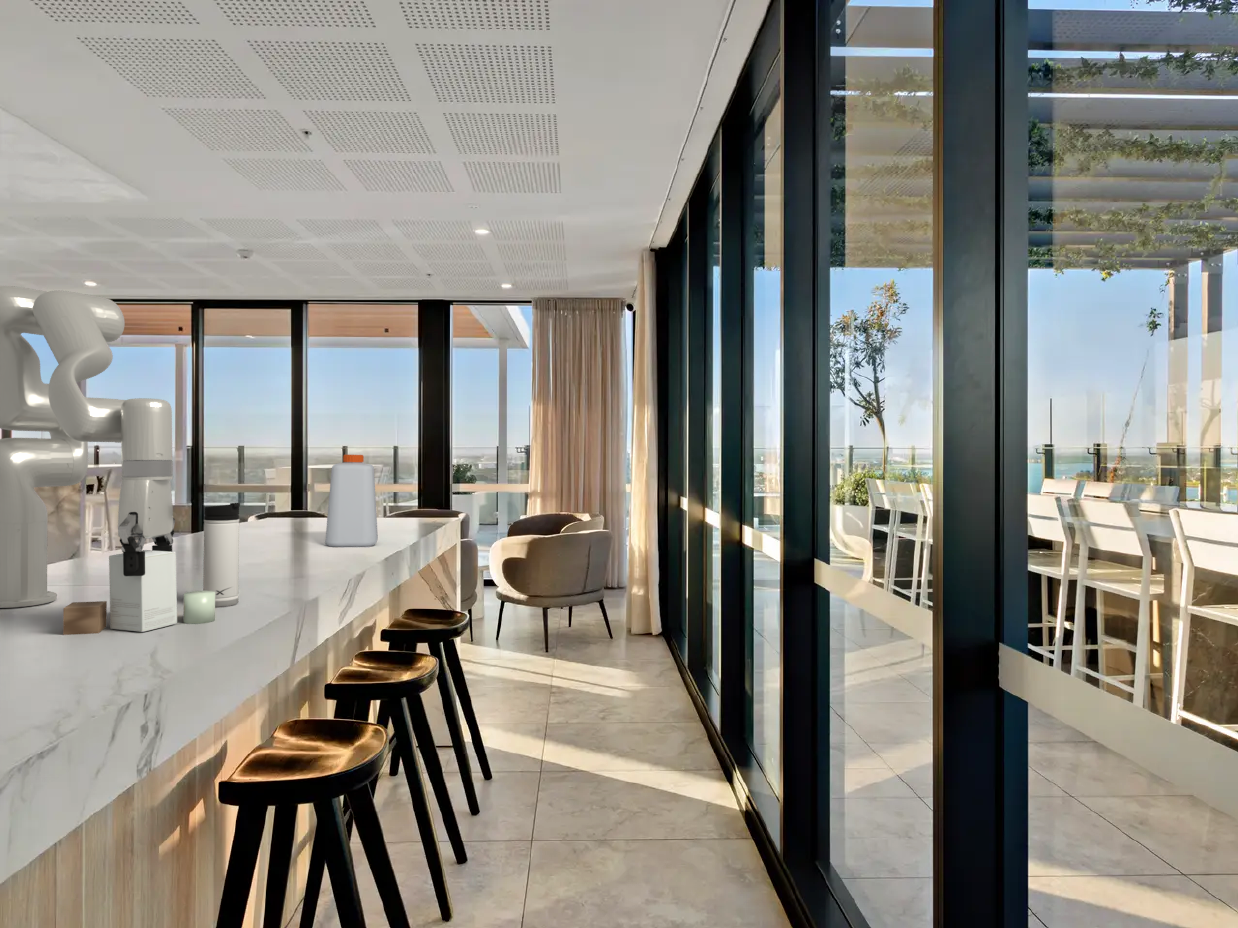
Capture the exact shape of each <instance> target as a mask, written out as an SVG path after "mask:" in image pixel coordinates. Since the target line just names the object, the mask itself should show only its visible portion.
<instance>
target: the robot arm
mask: <svg viewBox="0 0 1238 928" xmlns="http://www.w3.org/2000/svg"><path fill="white" fill-rule="evenodd" d="M123 313H124V312H123V311H122V310H121V308H120V307H119V305H118V304H117V302H115V301H113V300H112V299H110V298H108V297H107V298H106V297H104V296H100V295H99V296H97V295H91V294H86V293H80V292H76V291H75V292H74V291H68V290H50V291H46V290H41V289H34V288H29V287H22V286H13V285H0V429H1V430H6V431H13V432H14V431H16V432H18V431H19V432H20V431H21V432H42V433H43V432H49V435H50V438H42V437H40V438H38V437H4V438H0V609H8V608H9V609H10V608H11V609H12V608H13V609H14V608H22V607H32V606H37V605H38V606H39V605H45V604H48V603H52V602H54V601H56V600H57V598H58V594H57V592H55V591H48V537H49V536H48V531H49V530H48V529H49V526H48V523H49V521H48V519H49V518H48V517H49V516H48V515H49V514H48V513H49V512H48V508H47V506H46V503H45V502H44V501H43V499H42V498H41V497H40V496H39V494H38V493H37V491H36V490H35V489H36V488H45V487H46V488H49V487H68V486H69V487H70V486H74V485H77V484H79V483H80V482H82V481H83V480H84V478H85V477H86V476H87V473H88V468H89V447H88V446H89V443H120V444H121V447H120V448H121V449H120V451H121V485H120V491H119V498H118V511H117V512H118V515H117V536H118V537H119V542H120V544H121V548H120V549H121V552H122V553H123V574H124V576H143V575H145V551H142V550H144V549H143V548H144V546H145V543H146V540H147V539H152V541H153V543H154V545H153V544H152V545H151V551H168V552H173V545H174V539H173V536H174V534H175V530H174V528H175V523H176V519H175V518H174V509H173V508H174V507H173V494H172V486H171V485H172V484H171V480H173V477H174V476H173V414H172V413H173V411H172V406H171V404H170V402H168V401H167V400H165V399H160V398H140V397H139V398H130V399H128V398H127V399H119V398H107V397H106V398H104V397H86V396H85V395H84V394H83V392H82V391H81V388H80V386H79V384H78V383H79V382H83V381H85V380H88V379H91V378H93V377H96V376H98V375H100V374H102V373H103V372H105V371H106V370H107V369H108V368H109V367H110V366H111V364H112V362H113V359H114V357H113V356H114V355H113V352H112V349H111V347H110V346H109V344H108V343H112V342H115V341H117V340H118V339H119V338H120V337H121V336H122V335H123V332H124V331H125V317H124V314H123ZM22 334H28V335H29V334H31V335H38V336H43V337H44V339H45V341H46V343H47V345H48V347H49V349H50V350H51V353H52V354H53V357H54V358H55V360H56V362H57V363H58V365H57V366H56V367H55V368H54V371H53V372H52V374H51V376H50V379H49V383H45V382H43V380H42V376H41V361H40V357H39V355H38V353H37V352H36V350H35V349H34V347H33V346H32V344H31V343H30V342H29V341H28V340H27V339H26V338H25V337H24V336H23V335H22Z"/></svg>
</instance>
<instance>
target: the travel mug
mask: <svg viewBox="0 0 1238 928" xmlns="http://www.w3.org/2000/svg"><path fill="white" fill-rule="evenodd" d="M240 506H241V503H240V502H230V504H225V505H223V504H222V505H214V506H213V505H212V506H204V508H203V509H204V513H203V514H204V517H203V518H204V519H203V522H204V523H203V565H202V566H203V568H202V570H203V571H202V573H203V574H202V575H203V576H202V577H203V578H202V581H203V582H202V584H203V585H202V591H214V592H215V608H224V607H233V606H236V605H238V604H239V593H240V592H239V586H240V585H239V584H240V583H239V582H240V581H239V580H240V579H239V578H240V577H239V576H240V571H239V569H240V515H239V514H240Z"/></svg>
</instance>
